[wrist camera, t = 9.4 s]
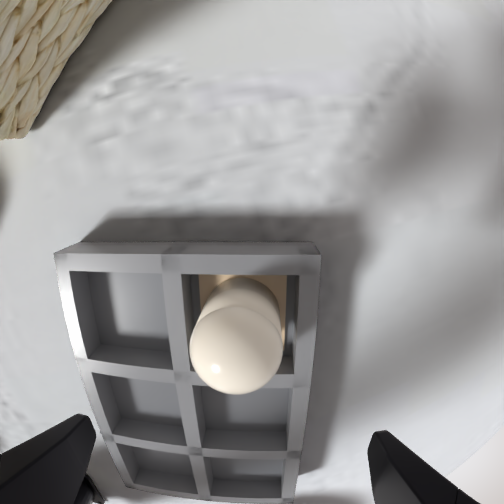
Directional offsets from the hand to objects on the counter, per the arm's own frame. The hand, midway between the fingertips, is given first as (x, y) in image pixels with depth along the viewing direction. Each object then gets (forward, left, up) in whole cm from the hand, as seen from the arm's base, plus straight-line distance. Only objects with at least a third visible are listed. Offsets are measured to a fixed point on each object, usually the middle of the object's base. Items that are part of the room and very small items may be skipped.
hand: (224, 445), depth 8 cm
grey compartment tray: (-7, +4, -11) cm, 14 cm away
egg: (0, 0, -10) cm, 10 cm away
